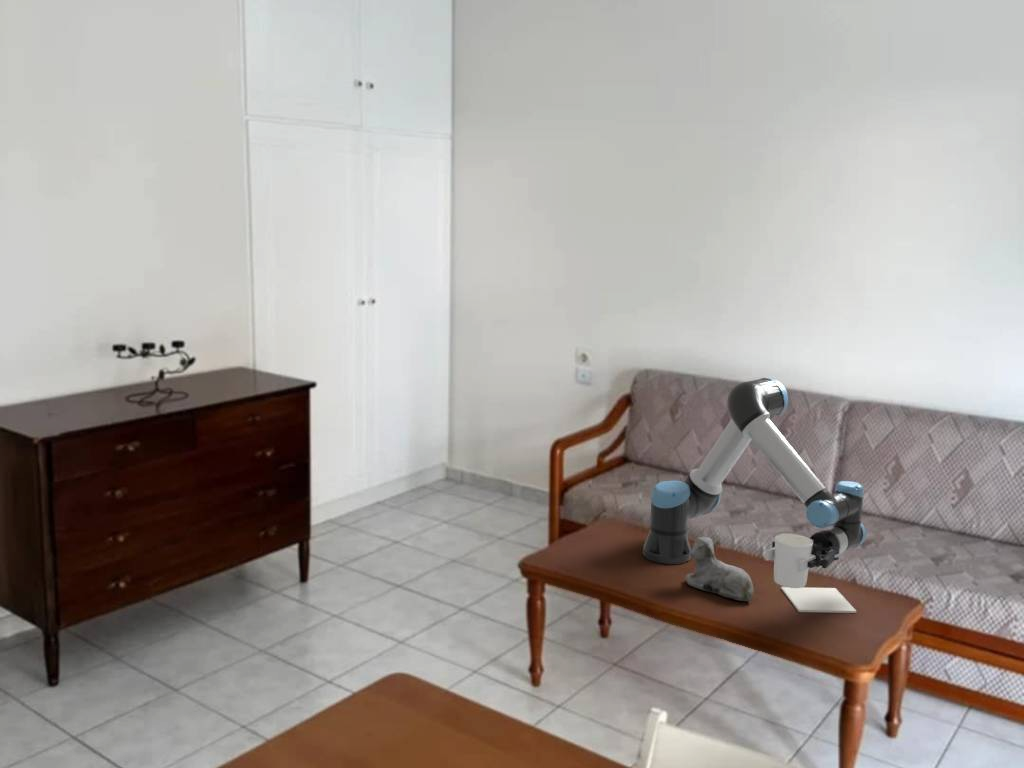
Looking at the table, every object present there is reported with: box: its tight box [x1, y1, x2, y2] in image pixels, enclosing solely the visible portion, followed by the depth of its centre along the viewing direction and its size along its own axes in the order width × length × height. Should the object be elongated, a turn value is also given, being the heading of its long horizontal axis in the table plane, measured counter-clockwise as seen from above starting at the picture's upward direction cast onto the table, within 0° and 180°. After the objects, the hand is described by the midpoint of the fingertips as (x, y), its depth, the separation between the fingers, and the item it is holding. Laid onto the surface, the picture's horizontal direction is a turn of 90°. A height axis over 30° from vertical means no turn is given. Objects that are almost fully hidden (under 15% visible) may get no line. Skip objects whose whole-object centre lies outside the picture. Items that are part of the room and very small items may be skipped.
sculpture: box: [685, 536, 755, 602], centre depth 269 cm, size 11×21×15 cm, turn 63°
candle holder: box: [773, 533, 813, 588], centre depth 250 cm, size 10×10×12 cm
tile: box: [780, 586, 857, 614], centre depth 266 cm, size 16×16×1 cm
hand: (782, 561), depth 247 cm, fingers closed on candle holder, 9 cm apart
